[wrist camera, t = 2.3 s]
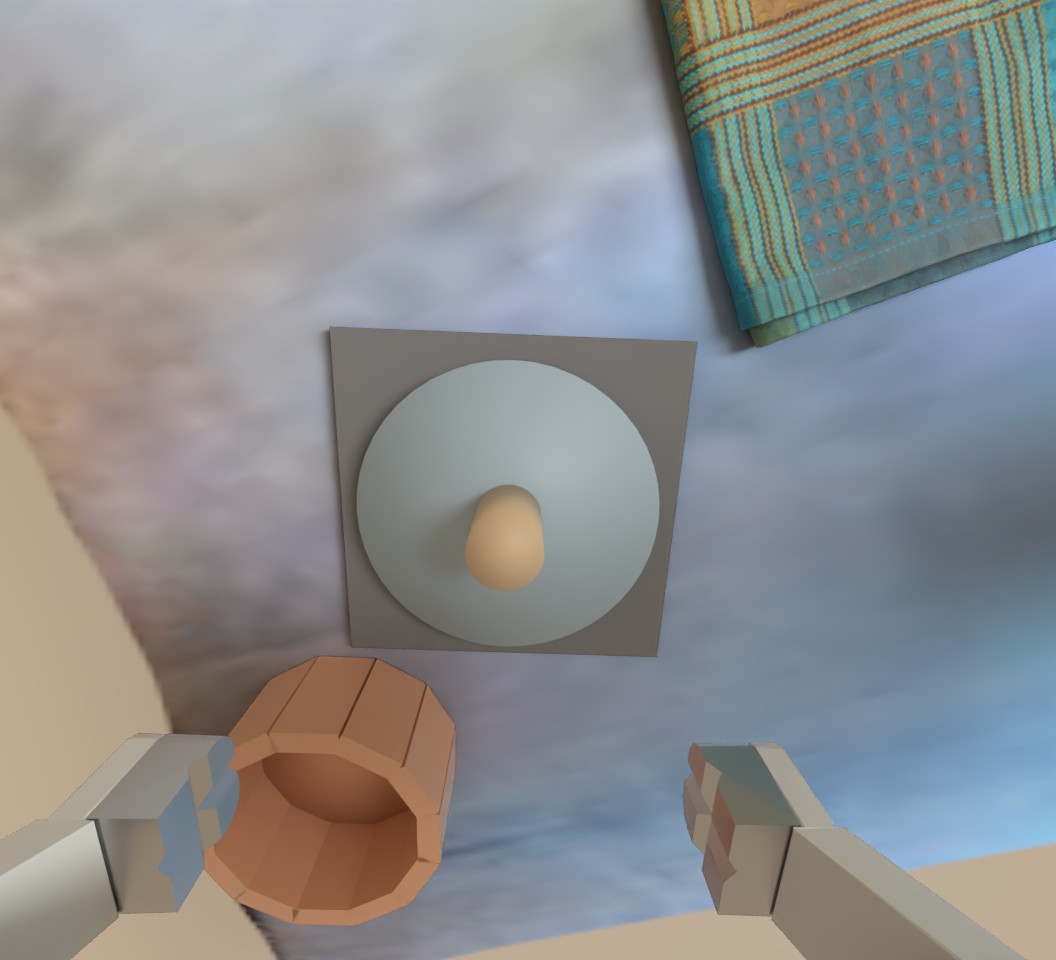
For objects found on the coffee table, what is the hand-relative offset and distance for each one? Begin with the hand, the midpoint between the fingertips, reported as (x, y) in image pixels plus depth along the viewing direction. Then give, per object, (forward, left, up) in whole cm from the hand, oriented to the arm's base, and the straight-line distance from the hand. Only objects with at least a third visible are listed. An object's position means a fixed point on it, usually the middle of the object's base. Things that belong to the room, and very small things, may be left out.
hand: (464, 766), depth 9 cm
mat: (0, 0, -14) cm, 14 cm away
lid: (0, 0, -14) cm, 14 cm away
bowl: (+8, +14, -14) cm, 21 cm away
